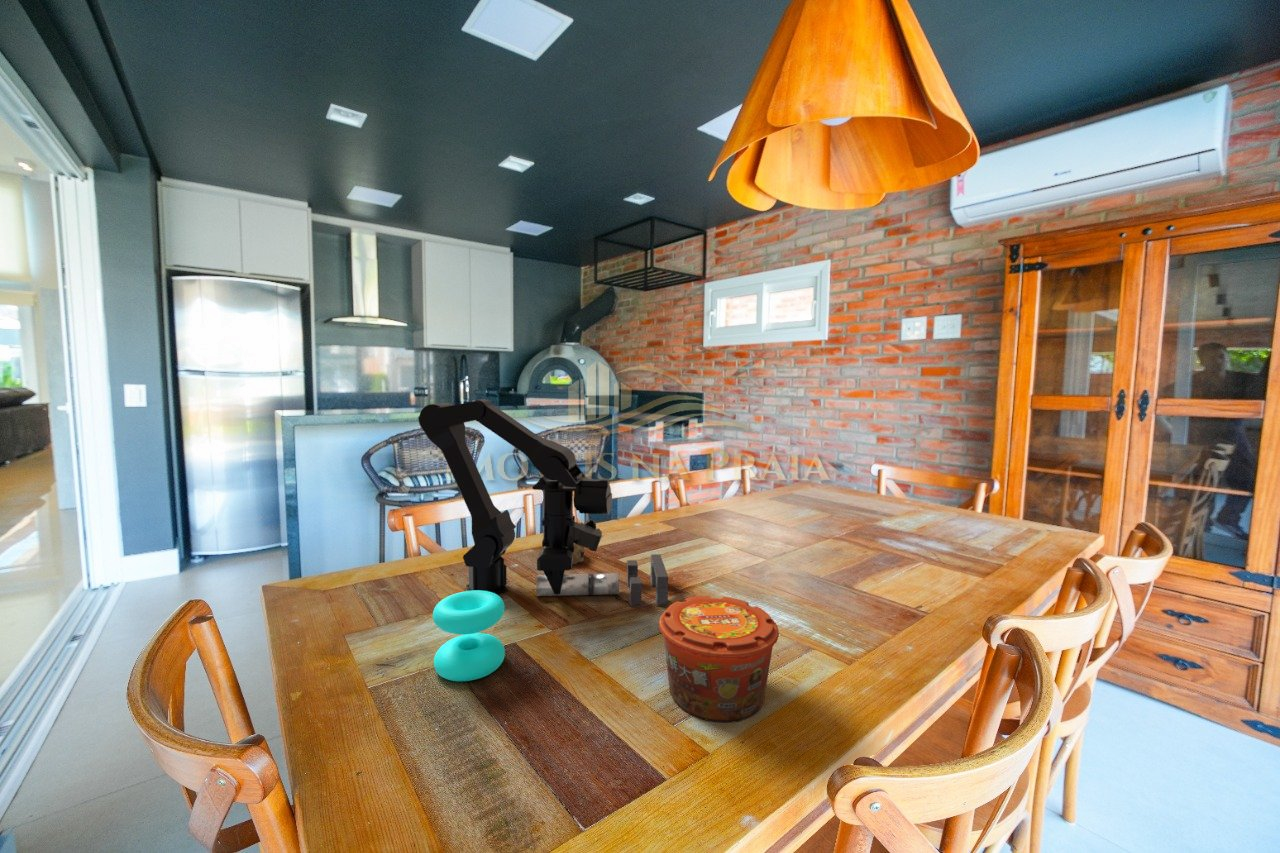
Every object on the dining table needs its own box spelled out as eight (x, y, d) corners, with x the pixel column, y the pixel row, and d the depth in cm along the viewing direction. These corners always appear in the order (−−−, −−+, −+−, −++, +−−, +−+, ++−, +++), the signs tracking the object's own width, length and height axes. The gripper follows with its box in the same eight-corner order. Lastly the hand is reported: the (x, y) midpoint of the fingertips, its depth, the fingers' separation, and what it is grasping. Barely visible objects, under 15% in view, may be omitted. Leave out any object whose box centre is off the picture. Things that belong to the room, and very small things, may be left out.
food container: (694, 746, 60) (696, 658, 59) (639, 674, 75) (640, 603, 74) (802, 712, 67) (805, 633, 66) (732, 652, 81) (734, 586, 80)
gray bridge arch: (657, 606, 97) (657, 576, 97) (650, 580, 110) (650, 554, 109) (667, 605, 98) (668, 576, 97) (659, 580, 110) (660, 554, 110)
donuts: (492, 617, 70) (420, 615, 71) (493, 687, 71) (421, 684, 72) (512, 588, 80) (449, 586, 81) (512, 649, 81) (450, 647, 82)
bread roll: (573, 582, 118) (588, 552, 117) (532, 563, 117) (547, 532, 117) (578, 567, 128) (592, 538, 127) (541, 549, 127) (555, 520, 127)
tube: (536, 599, 100) (536, 579, 99) (538, 590, 104) (538, 571, 103) (619, 597, 101) (619, 578, 101) (618, 589, 105) (618, 570, 105)
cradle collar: (630, 606, 97) (631, 583, 97) (627, 581, 109) (627, 560, 109) (641, 606, 97) (641, 583, 97) (636, 580, 110) (636, 560, 109)
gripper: (599, 524, 92) (599, 609, 93) (599, 500, 111) (598, 571, 112) (536, 525, 91) (536, 610, 92) (546, 501, 110) (547, 572, 111)
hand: (558, 589), depth 102 cm, fingers closed on tube, 4 cm apart
